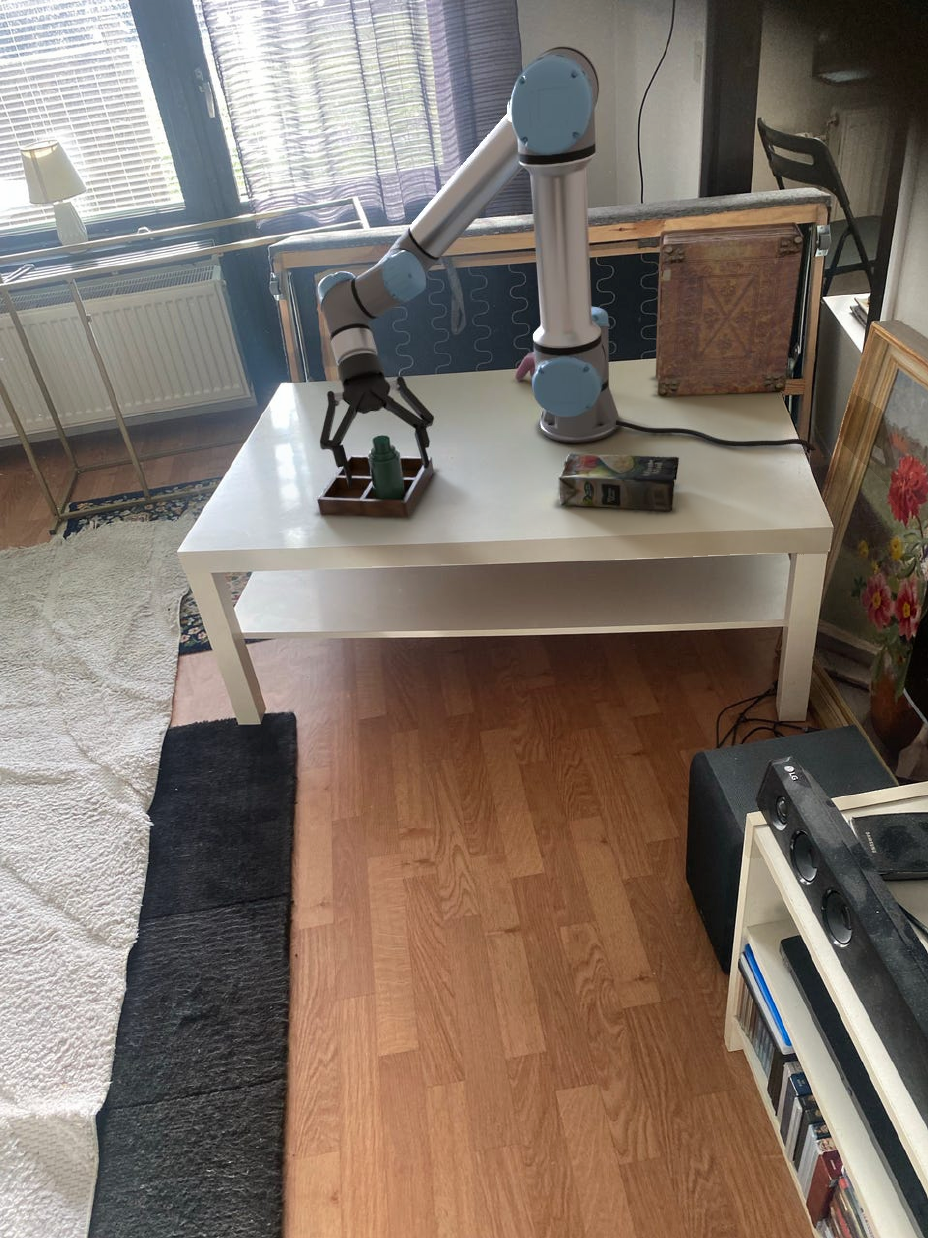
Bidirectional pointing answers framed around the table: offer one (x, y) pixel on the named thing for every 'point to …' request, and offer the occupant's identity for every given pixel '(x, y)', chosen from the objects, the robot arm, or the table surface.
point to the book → (726, 308)
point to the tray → (361, 493)
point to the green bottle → (386, 470)
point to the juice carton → (618, 481)
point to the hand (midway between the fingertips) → (389, 474)
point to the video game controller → (526, 366)
